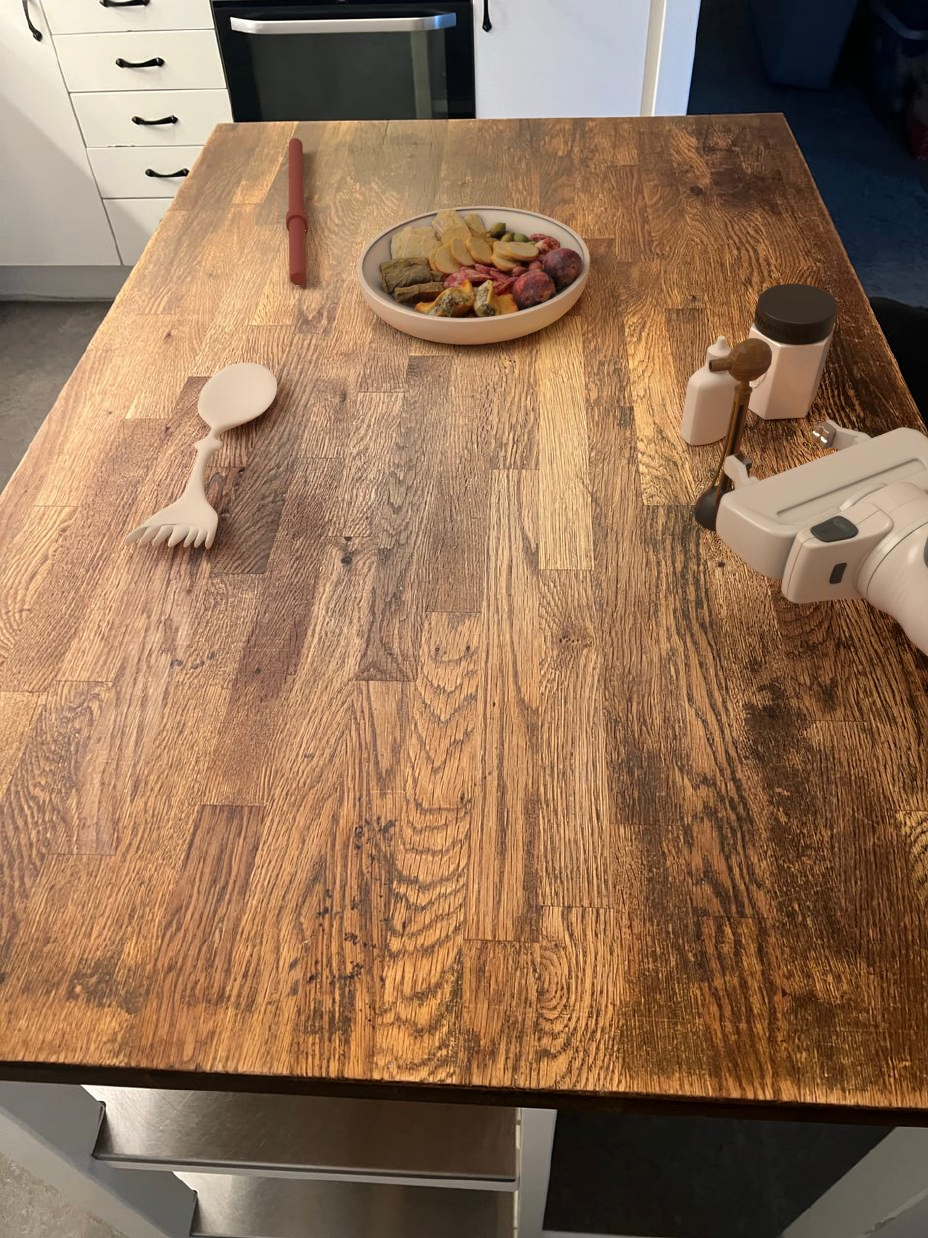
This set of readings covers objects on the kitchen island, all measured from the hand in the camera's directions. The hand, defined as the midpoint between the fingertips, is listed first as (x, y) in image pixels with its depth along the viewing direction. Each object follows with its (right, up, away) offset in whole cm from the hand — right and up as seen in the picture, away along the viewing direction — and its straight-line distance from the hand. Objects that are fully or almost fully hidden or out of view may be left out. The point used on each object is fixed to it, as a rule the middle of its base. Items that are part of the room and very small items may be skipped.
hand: (775, 443), depth 84 cm
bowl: (-26, +28, +44) cm, 58 cm away
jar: (+8, +10, +25) cm, 28 cm away
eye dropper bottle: (-1, +5, +22) cm, 22 cm away
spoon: (-55, +2, +22) cm, 59 cm away
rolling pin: (-52, +46, +62) cm, 93 cm away
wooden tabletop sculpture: (-2, -5, +13) cm, 14 cm away
